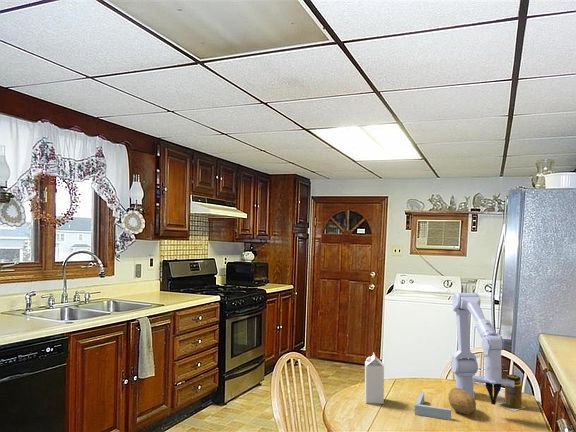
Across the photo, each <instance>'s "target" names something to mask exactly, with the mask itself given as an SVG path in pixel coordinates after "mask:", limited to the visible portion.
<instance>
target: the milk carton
mask: <svg viewBox="0 0 576 432" xmlns="http://www.w3.org/2000/svg"><path fill="white" fill-rule="evenodd" d="M384 372H385V368H384V364H383V362H382V361H381V360H380V359H379V358H378V357H377V356H376V355H375V352H372V355H371V356H368V357H366V359H365V361H364V400H365V404H377V405H379V404H381V405H384V404H385V401H384V398H385V393H384V392H385V387H384V386H385V382H384V377H385V375H384V374H385V373H384Z"/></svg>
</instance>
